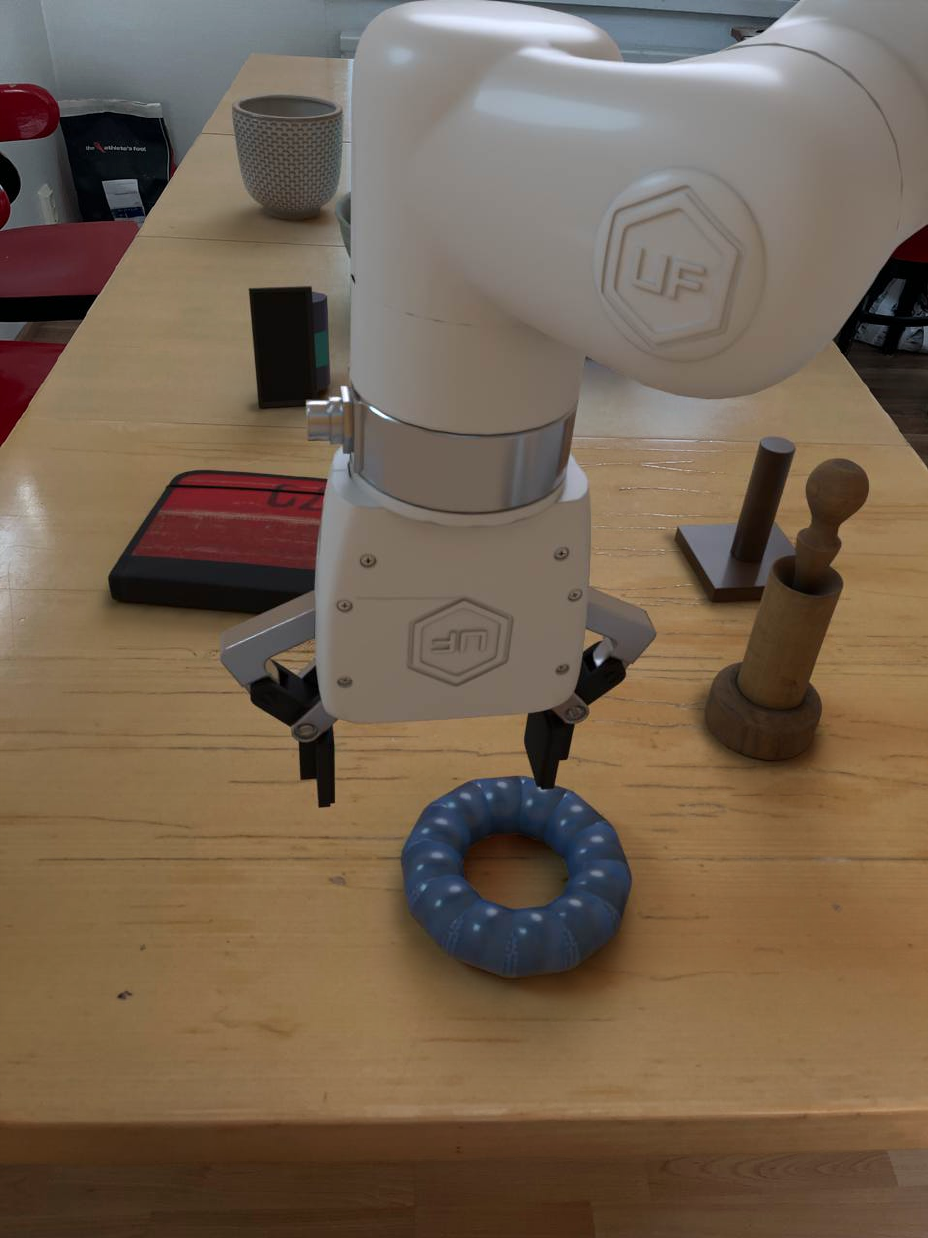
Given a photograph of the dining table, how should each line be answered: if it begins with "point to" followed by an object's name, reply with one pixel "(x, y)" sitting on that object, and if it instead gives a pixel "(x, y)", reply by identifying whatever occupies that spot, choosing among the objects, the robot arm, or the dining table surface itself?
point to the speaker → (289, 344)
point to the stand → (744, 532)
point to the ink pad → (225, 542)
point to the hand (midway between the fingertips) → (433, 774)
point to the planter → (289, 151)
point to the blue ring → (496, 930)
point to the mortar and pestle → (789, 630)
